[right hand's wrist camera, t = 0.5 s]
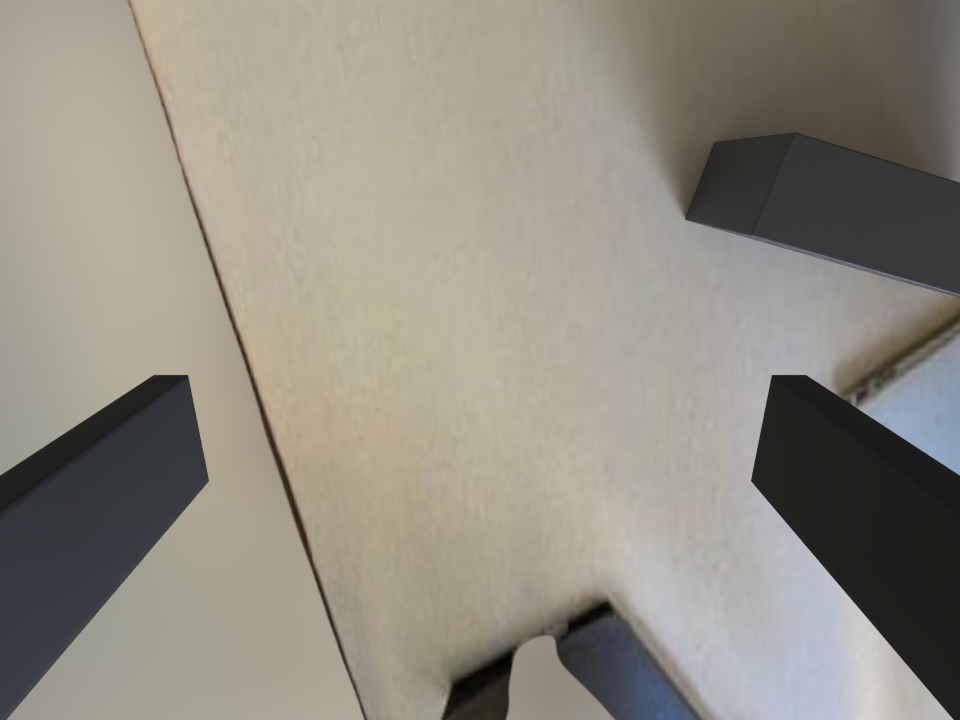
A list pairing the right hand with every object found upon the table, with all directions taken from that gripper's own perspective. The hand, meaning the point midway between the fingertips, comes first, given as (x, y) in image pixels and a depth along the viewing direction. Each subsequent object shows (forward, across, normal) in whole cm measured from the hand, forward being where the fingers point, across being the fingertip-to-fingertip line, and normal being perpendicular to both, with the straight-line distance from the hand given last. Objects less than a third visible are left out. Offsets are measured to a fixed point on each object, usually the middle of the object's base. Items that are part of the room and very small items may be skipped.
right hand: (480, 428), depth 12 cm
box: (+36, +29, +1) cm, 46 cm away
